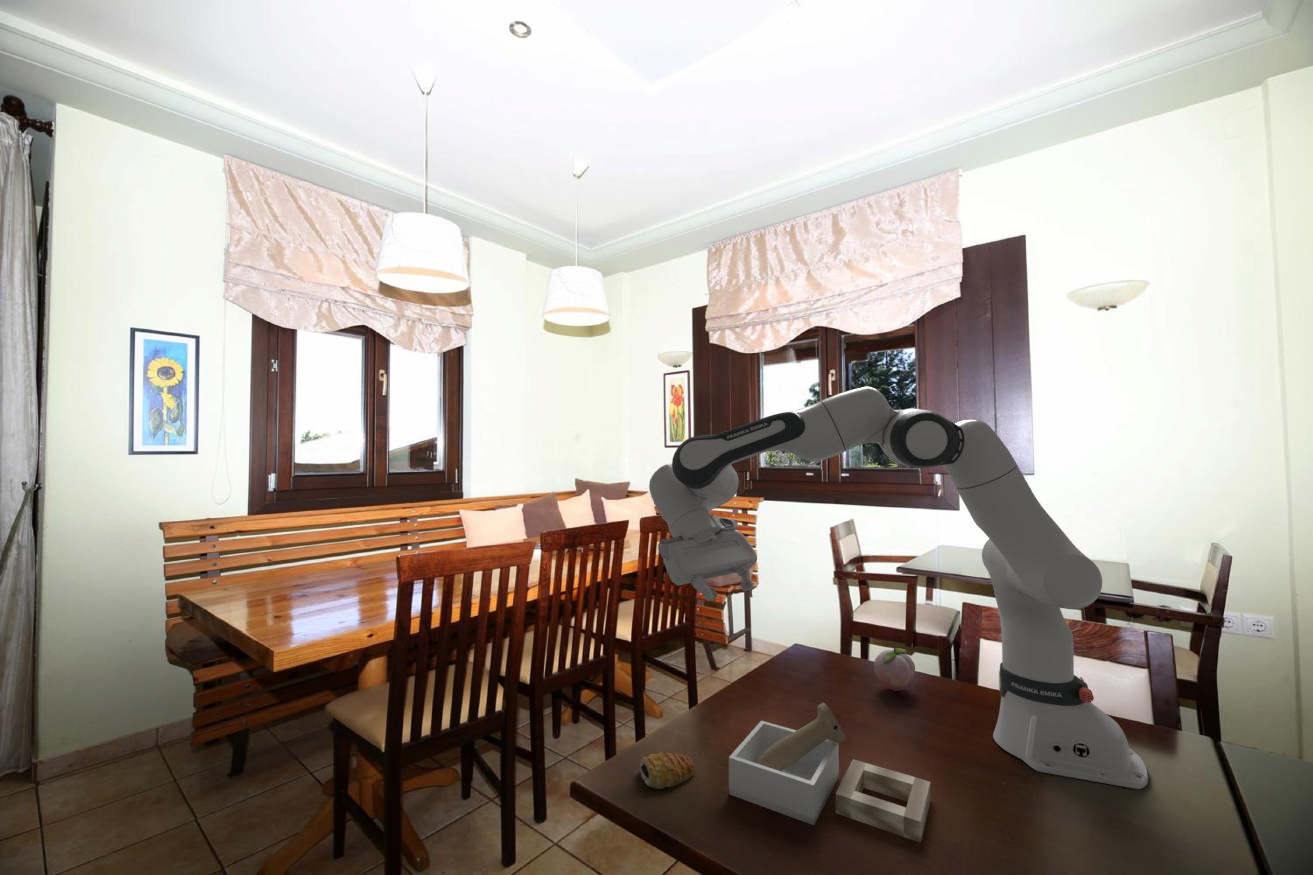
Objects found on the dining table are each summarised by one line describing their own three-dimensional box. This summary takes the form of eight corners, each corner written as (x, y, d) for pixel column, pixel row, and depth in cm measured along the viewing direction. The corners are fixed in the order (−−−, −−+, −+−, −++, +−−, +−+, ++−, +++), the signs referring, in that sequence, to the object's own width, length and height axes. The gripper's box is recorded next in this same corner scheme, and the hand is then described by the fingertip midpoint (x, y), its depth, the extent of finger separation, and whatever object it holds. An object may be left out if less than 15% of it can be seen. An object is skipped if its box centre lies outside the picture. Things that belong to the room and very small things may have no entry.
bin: (838, 777, 95) (838, 742, 95) (814, 825, 84) (813, 785, 84) (761, 752, 103) (761, 720, 103) (729, 793, 91) (728, 757, 91)
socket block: (930, 800, 89) (930, 781, 89) (920, 842, 80) (920, 821, 80) (853, 776, 95) (852, 758, 95) (835, 812, 86) (835, 793, 86)
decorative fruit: (883, 678, 134) (883, 637, 134) (919, 688, 128) (919, 645, 128) (867, 691, 127) (867, 647, 127) (904, 703, 122) (904, 657, 122)
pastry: (685, 760, 101) (685, 739, 101) (701, 781, 95) (701, 759, 95) (636, 772, 98) (636, 750, 98) (650, 795, 91) (650, 772, 91)
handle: (774, 792, 91) (849, 742, 93) (754, 756, 92) (829, 707, 94) (766, 780, 96) (839, 732, 98) (747, 745, 97) (819, 699, 99)
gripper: (661, 530, 103) (696, 594, 95) (740, 519, 115) (777, 575, 108) (647, 550, 107) (680, 614, 99) (725, 537, 119) (760, 593, 111)
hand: (731, 593), depth 103 cm, fingers open, 8 cm apart
